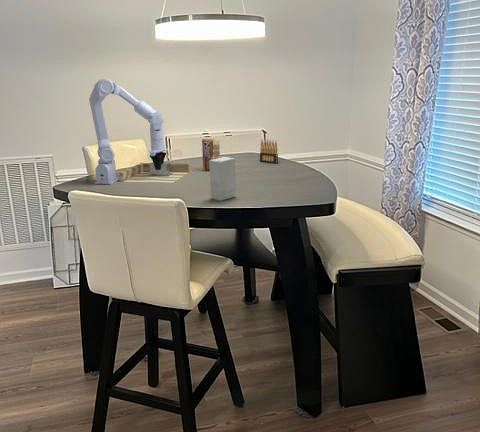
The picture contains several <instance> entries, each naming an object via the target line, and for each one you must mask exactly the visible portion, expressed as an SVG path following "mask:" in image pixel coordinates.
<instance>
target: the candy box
mask: <svg viewBox="0 0 480 432" xmlns="http://www.w3.org/2000/svg"><path fill="white" fill-rule="evenodd" d="M201 143H202V144H201V145H202V146H201V147H202V148H201V150H202V169H203V170H202V171H203V172H209V173H210V168H209V160H213V159H218V158H221V157H220V155H221V153H220V152H221V149H220V139H217V138H216V139H215V138H202V139H201Z"/></svg>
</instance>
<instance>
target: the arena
mask: <svg viewBox="0 0 480 432" xmlns="http://www.w3.org/2000/svg"><path fill="white" fill-rule="evenodd" d="M150 163H151V162H140V163H138V164H135V165H133V166H131V167H128V168H127V169H124V170H122V171H120V172H119V179H120V180H119V182H120V183H166V184H169V183H170V184H171V183H172V184H173V183H175V182H177V181H178V180H180V179H181V178H182V177H185V176H186V175H187V174H189V173H190V163H180V162H179V163H175V162H174V163H173V162H172V163H171V162H169V163H170V174H168V175H167V176H165V175H155V174H150Z"/></svg>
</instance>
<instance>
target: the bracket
mask: <svg viewBox="0 0 480 432" xmlns="http://www.w3.org/2000/svg"><path fill="white" fill-rule="evenodd" d="M149 163H150V174H155V175H165V176H167V175H168V174H170V163H171V162H168V161H167V162H165V161H164V163H161V169H160V170H155V167H154V163H153V161H152V162H149Z"/></svg>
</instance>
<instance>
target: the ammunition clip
mask: <svg viewBox="0 0 480 432" xmlns="http://www.w3.org/2000/svg"><path fill="white" fill-rule="evenodd" d="M259 163H263V164H273V165H278V164H279V153H278V142H277V140H276V139H275V140H274V139H272V141H271V139H269V140H268V139H260V152H259Z"/></svg>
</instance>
